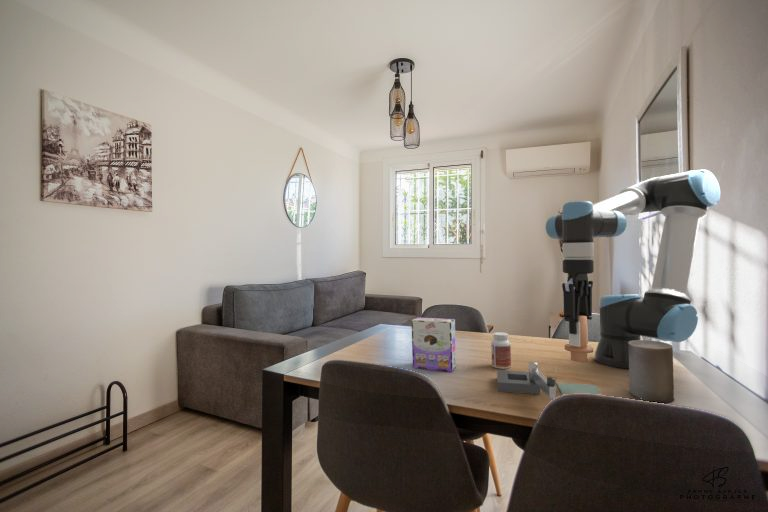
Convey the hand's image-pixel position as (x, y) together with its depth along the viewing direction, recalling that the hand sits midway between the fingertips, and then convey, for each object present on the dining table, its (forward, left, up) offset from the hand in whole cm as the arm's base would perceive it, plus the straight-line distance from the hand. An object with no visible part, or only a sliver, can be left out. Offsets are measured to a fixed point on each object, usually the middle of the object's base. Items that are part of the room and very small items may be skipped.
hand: (578, 344), depth 103 cm
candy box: (+42, -13, -13) cm, 46 cm away
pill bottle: (+20, -19, -13) cm, 30 cm away
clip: (+11, +10, -10) cm, 18 cm away
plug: (0, 0, -4) cm, 4 cm away
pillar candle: (-17, -1, -13) cm, 22 cm away
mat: (0, 0, -13) cm, 13 cm away
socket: (+16, -1, -13) cm, 21 cm away
